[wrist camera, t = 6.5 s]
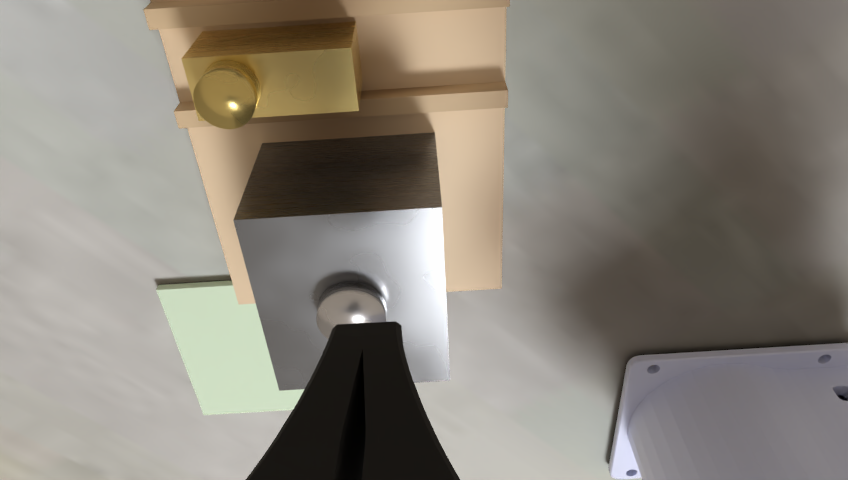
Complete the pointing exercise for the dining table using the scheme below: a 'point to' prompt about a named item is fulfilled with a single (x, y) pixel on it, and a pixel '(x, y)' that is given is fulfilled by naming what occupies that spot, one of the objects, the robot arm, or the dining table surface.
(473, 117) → the wooden tray with rails
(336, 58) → the bolt
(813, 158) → the dining table surface
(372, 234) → the metal box with knob
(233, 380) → the mat
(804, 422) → the robot arm
